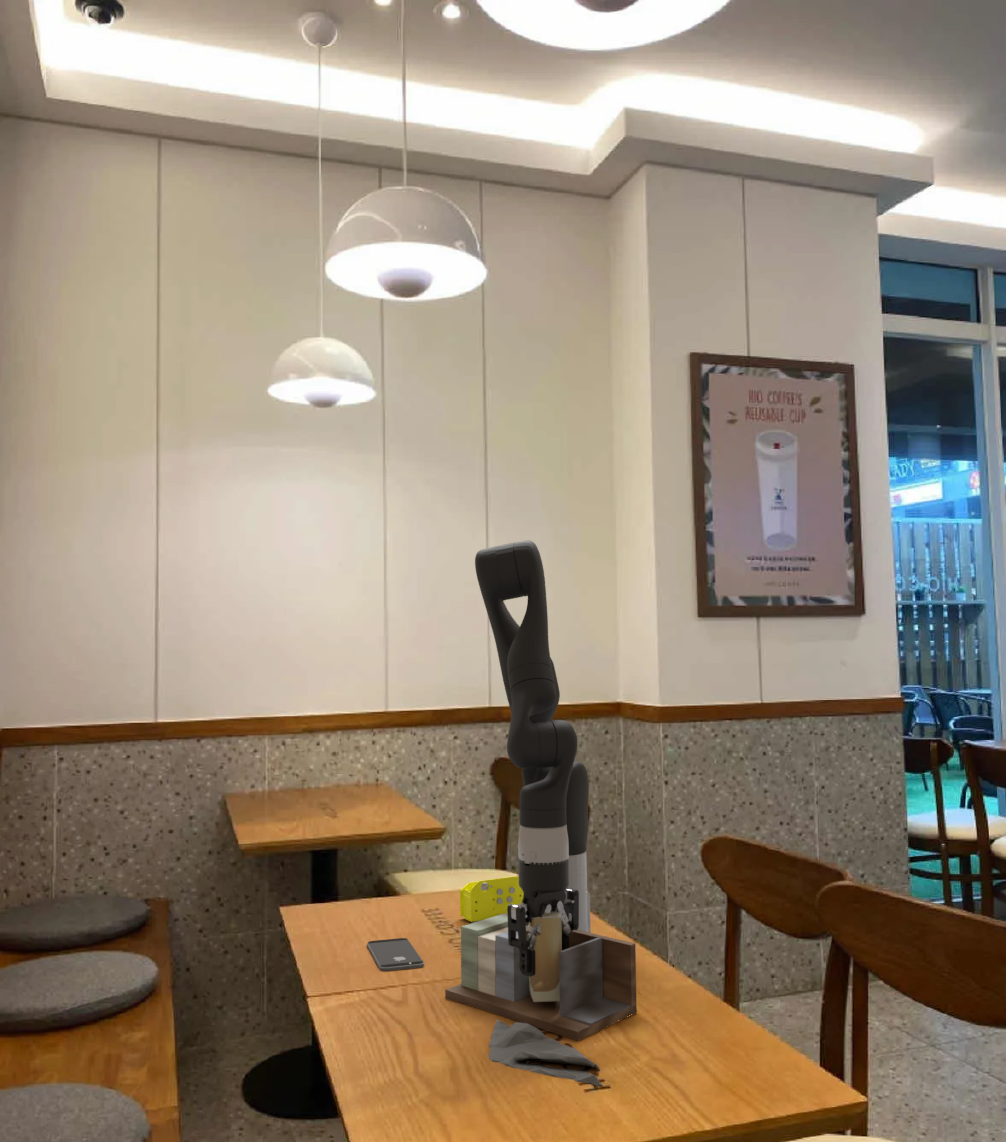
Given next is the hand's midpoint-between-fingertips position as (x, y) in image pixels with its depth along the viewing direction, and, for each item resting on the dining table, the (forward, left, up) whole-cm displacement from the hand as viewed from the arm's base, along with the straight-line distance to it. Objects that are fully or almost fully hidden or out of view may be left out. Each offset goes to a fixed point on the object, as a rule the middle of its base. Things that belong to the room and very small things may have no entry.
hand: (544, 968), depth 150 cm
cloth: (+12, +8, -7) cm, 16 cm away
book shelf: (-2, -3, -6) cm, 7 cm away
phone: (-4, -38, -7) cm, 39 cm away
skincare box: (0, 0, -4) cm, 4 cm away
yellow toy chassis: (-35, -41, -7) cm, 54 cm away
